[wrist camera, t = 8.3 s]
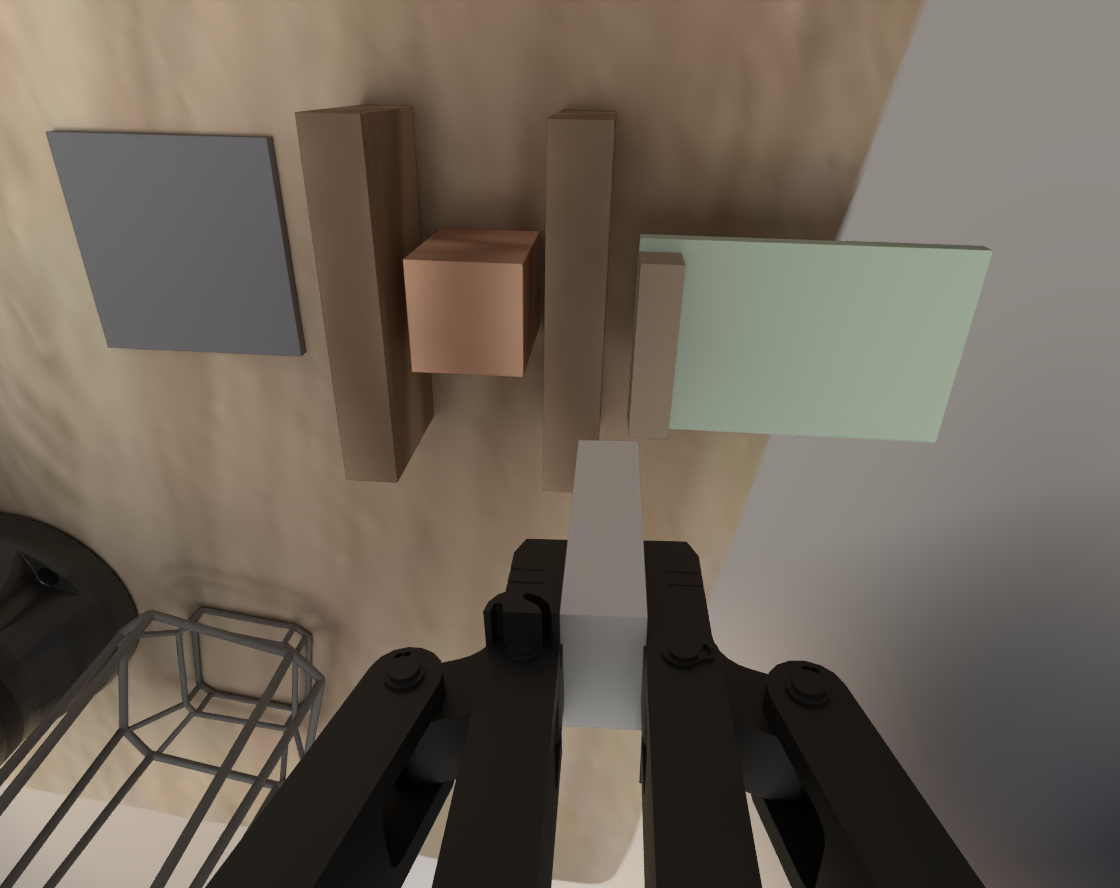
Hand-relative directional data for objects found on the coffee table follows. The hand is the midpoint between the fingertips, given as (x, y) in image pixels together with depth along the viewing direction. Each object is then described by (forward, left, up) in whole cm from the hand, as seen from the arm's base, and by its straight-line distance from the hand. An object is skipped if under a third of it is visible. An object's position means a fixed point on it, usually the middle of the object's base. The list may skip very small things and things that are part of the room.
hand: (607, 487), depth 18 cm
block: (-6, 0, -20) cm, 21 cm away
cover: (+7, 0, -13) cm, 15 cm away
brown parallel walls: (-6, 0, -20) cm, 21 cm away
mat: (-22, +1, -20) cm, 30 cm away
